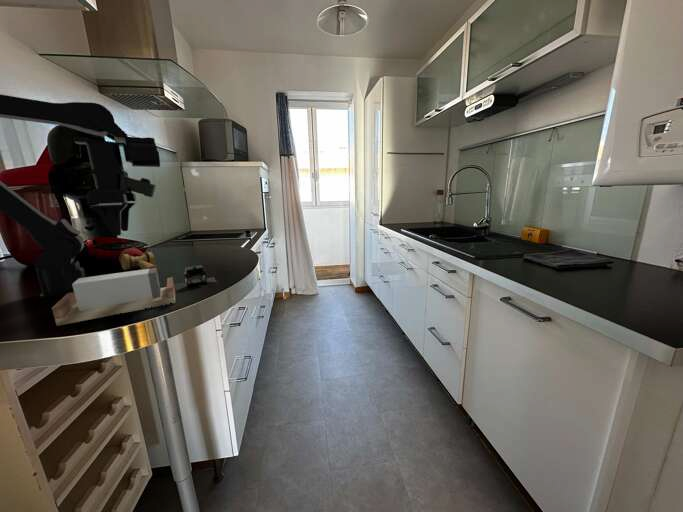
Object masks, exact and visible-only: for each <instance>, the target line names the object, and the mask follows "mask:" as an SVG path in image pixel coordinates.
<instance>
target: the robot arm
mask: <svg viewBox="0 0 683 512" xmlns="http://www.w3.org/2000/svg"><path fill="white" fill-rule="evenodd" d="M0 118H2V119H10V120H18V121H25V122H31V123H32V122H33V123H40V124H41V123H42V124H50V125H57V126H61V127H65V128H69V129H73V130H76V131H80V132H79V134H78V135H77V136H76V137H74V138H73V141H74V142H75V144H77V145H85V146H86V148H87V154H88V158H89V162H90V166H91V169H89V173H90V175H91V176H92V175H93V179H94V185H95V188H93V189H90V190H88V192H86V193H85V200H86V204H87V205H90V204H92V205H90V206H89V207H90V208H91V209H92V210H93V211H94V212H95V213H96V214H97V215H98V217H99V218H100V219H101V221H103V222H104V223H105V225H106V226H107V228H108V229H109V230H110V231H111V233H112V234H113V235H114V236H115V237H116V236H117V237H118V236H121V235H122V232H127V231H128V230H129V221H130V210H131V208H133V207H134V206H135V205H136V202H137V197H136V193H137V194H139V195H143V196H145V197H149V198H153V197H154V194H155V191H156V184H152V183H151V180H150V179H147V178H145V177H141V178H140V179H139V180H138V179H135V178H131V177H129V173H128V172H127V171H126V170H125V169H124V164H123V159H122V153H121V149H120V148H123V154H124V159H125V162H126V163H128V164H129V163H130V164H131V167H135V168H136V167H137V168H139V167H140V168H141V167H144V168H160V167H161V159H160V153H159V151H158V147H157V144H156V141H155V138H154V137H149V136H148V137H135V136H128V134H127V133H126V132H125V130H123V129H122V128H121V127H120V126H119V125H118V124H117V122H115V118H114V115H113V113H112V112H111V111H110V109H108V108H107V107H106V106H104V105H103V104H100V103H96V102H84V101H78V102H77V101H73V102H71V101H70V102H49V101H43V100H39V99H37V100H36V99H32V98H31V99H30V98H23V97H18V96H14V95H13V96H12V95H6V94H1V93H0ZM88 134H90V135H88ZM91 135H92V136H91ZM106 137H107V139H110V140H112V141H109V140H106ZM0 212H2V213H3V214H4V215H6V216H8V218H10V219H11V220H13V221H14V222H16V223H17V224H19V225H20V226H21V227H22V228H23V229H25V230H26V231H27V233H28V234H29V235H30V237H31V238H32V239H33V241H34V242H35V243H36V244H37V245H38V246H39V248H41V249H42V250H43V251H42V252H41V253H40V254H38V256H36V257H35V259H33V260H32V261H31V263H32V265H34V267H35V272H36V275H37V278H38V281H39V285H40V289H41V292H42V293H40V295H39V298H40V299H43V298H49V297H56V296H62V295H66V294H67V293H73V292H74V290H73V286H72V284H73V283H74V282H75V281H76V280H78V279H79V278H85V277H87V275H86V272H85V269H84V267H81V265H80V262H79V261H75V259H76V257H77V256H78V255H79V254H80V253H81V251H83V249H84V247H85V239H84V238H83V236H82V235H81V233H82V231H80V230H78V229H76V228H75V227H73V226H72V225H71V224H70V223H69V222H68V220H67V219H65V218H62V219H60V220H58V221H56V220H54V219H51V218H50V217H48V216H46V215H45V214H44V213H42V212H41V211H40V210H38V209H37V208H36V207H35V206H33V205H32V204H30V203H29V202H28V201H27V200H25V199H24V198H23V197H21V196H20V195H19V194H18V193H17V192H15V191H14V190H13V189H11V188H10V186H7V185H6V183H4V182H3V181H1V180H0Z"/></svg>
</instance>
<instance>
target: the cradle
mask: <svg viewBox="0 0 683 512" xmlns="http://www.w3.org/2000/svg"><path fill="white" fill-rule="evenodd" d="M174 284H175V283H174V277H173V276H171V277H167V279H166V286H165V287H160V289H161V293H160V297H155V298H150V299H144V300H139V301H133V302H127V303H122V304H116V305H111V306H105V307H100V308H94V309H88V310H83V311H79V308H78V304H77V301H76V297H75V293H74V292H73V293H67V294H64V296H63V297H62V298H61V299H60V300H58V302H56V303H55V305H53V306H52V307H51V311H52V313H53V317H54V321H55V325H56V326H58V327H59V326H64V325H69V324H75V323H79V322H83V321H88V320H94V319H99V318H104V317H110V316H114V315H115V314H116V315H119V314H120V313H121V314H125V313H129V312H130V313H131V312H135V311H136V312H137V311H141V310H145V308H147V309H151V307H152V308H155V307H161V305H162V306H166V304H167V305H171V304H170V303H172V304H176V291H175V287H174ZM116 315H115V316H116Z"/></svg>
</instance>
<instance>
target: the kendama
mask: <svg viewBox="0 0 683 512" xmlns="http://www.w3.org/2000/svg"><path fill="white" fill-rule="evenodd" d="M118 261H119V264H120V265H121V269H123V270H124V271H128V270H130V269H131V270H134V269H136V268H140V270H144V269H152V268H157V273H158V274H159V273H160V268H159V266H157V265H155V256H154V253H153V252H151V251H147V252H144V253H143V252H142V251H141V250H140V249H138V248H135V247H134V248H133V247H130V248H126V249H124V250H122V252H121V253H120V254H119V256H118Z"/></svg>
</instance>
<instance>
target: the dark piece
mask: <svg viewBox="0 0 683 512" xmlns="http://www.w3.org/2000/svg"><path fill="white" fill-rule="evenodd" d="M184 270H185V271H184V272H183V273H184V274H183V277H184V279H185V282H180V283H174V286H175V289H176V291H175V292H179V291H184V290H188V288H189V289H193V288H192V287H194V288H197V287H196V286H199V285H204V286H208V285H207V284H209V285H212V284H211V283H214V284H218V283H217V281H216V280H215V278H214V277H215V276H213V277H207V275H208V274H207V272H206V269H205V268H204V266H203V265H202V264H199V265H192V266H186V267H184ZM199 276H200V277H199ZM193 277H199V278H195V279H191V278H193ZM199 287H200V286H199ZM183 289H184V290H183ZM178 290H179V291H178Z"/></svg>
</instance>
